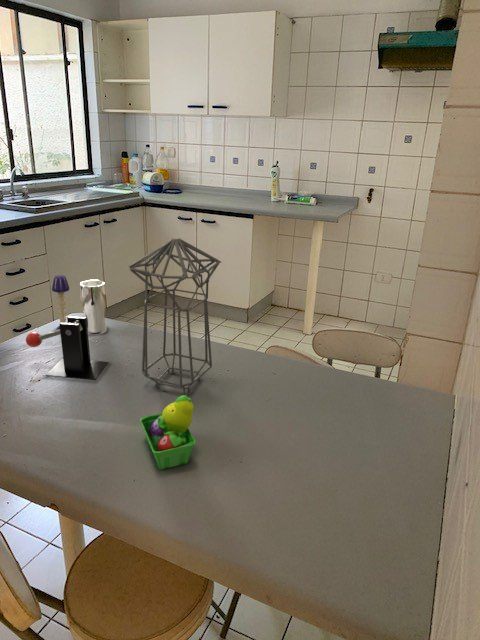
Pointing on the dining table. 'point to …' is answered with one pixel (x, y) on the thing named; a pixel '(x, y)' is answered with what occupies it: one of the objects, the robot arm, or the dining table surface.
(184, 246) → the geometric lantern
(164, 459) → the fruit basket
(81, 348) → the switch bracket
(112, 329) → the dining table surface
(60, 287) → the toy lamp
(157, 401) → the dining table surface
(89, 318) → the silver metal vase
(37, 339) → the switch lever
